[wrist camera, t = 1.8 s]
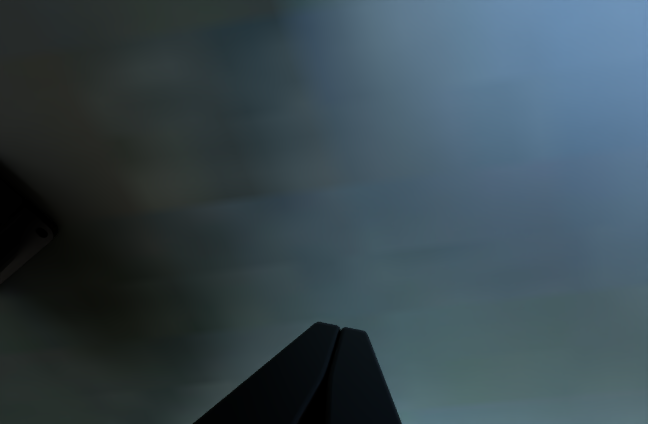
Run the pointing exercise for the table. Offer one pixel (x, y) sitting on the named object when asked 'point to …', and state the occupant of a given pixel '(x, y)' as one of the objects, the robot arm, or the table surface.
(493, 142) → the table surface
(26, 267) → the table surface
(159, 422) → the table surface
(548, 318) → the table surface
